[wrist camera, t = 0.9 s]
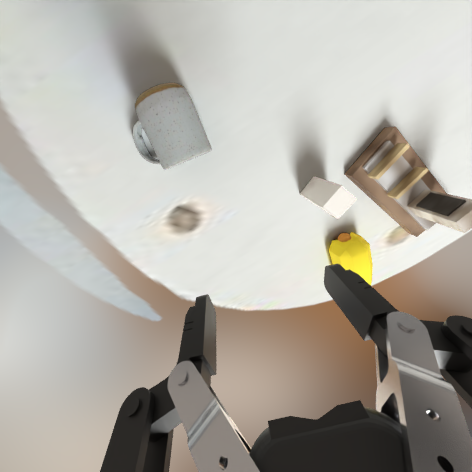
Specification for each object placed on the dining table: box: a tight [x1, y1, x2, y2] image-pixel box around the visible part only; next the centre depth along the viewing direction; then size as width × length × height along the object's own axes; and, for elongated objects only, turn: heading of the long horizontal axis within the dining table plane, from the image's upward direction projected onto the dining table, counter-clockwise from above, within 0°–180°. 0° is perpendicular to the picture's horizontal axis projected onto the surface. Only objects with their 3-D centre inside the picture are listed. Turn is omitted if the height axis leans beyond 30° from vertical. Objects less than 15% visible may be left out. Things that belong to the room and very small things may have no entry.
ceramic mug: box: [133, 83, 212, 170], centre depth 23 cm, size 11×8×8 cm
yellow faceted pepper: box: [329, 232, 372, 285], centre depth 40 cm, size 18×7×8 cm
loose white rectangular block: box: [300, 176, 357, 219], centre depth 30 cm, size 4×4×8 cm
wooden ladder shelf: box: [345, 127, 472, 237], centre depth 30 cm, size 9×26×11 cm, turn 57°
